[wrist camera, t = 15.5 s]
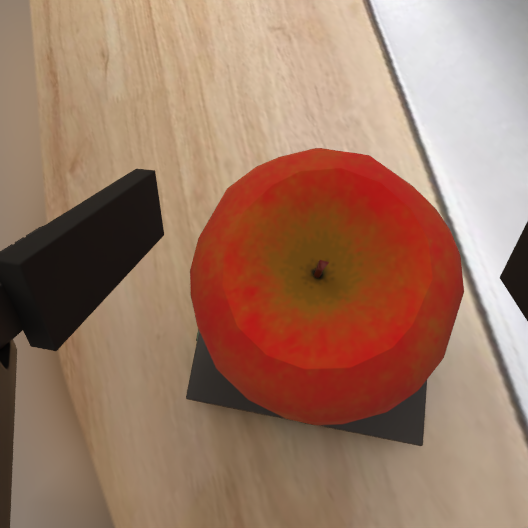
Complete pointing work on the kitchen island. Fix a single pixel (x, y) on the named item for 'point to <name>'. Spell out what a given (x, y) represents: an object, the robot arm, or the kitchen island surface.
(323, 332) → the apple
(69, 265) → the robot arm
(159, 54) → the kitchen island surface
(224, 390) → the kitchen scale
